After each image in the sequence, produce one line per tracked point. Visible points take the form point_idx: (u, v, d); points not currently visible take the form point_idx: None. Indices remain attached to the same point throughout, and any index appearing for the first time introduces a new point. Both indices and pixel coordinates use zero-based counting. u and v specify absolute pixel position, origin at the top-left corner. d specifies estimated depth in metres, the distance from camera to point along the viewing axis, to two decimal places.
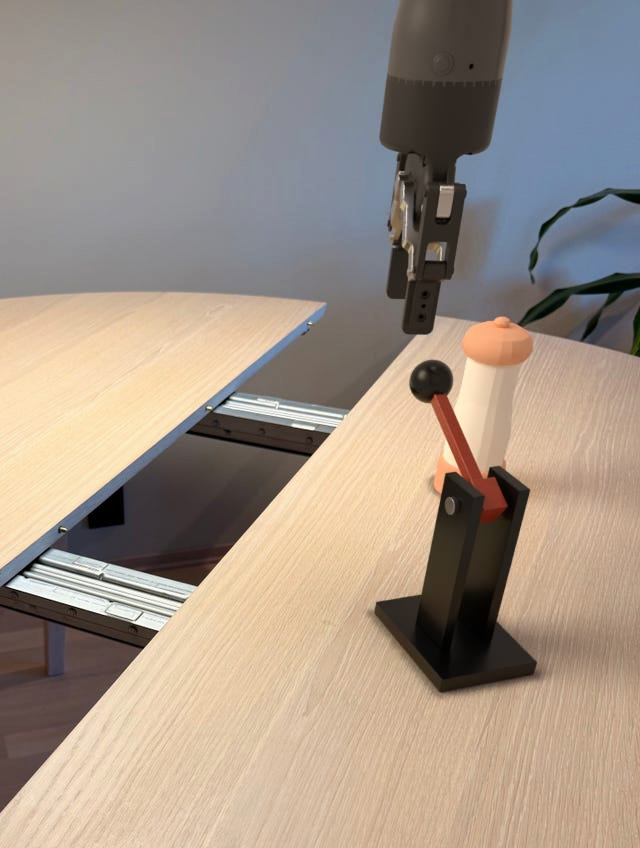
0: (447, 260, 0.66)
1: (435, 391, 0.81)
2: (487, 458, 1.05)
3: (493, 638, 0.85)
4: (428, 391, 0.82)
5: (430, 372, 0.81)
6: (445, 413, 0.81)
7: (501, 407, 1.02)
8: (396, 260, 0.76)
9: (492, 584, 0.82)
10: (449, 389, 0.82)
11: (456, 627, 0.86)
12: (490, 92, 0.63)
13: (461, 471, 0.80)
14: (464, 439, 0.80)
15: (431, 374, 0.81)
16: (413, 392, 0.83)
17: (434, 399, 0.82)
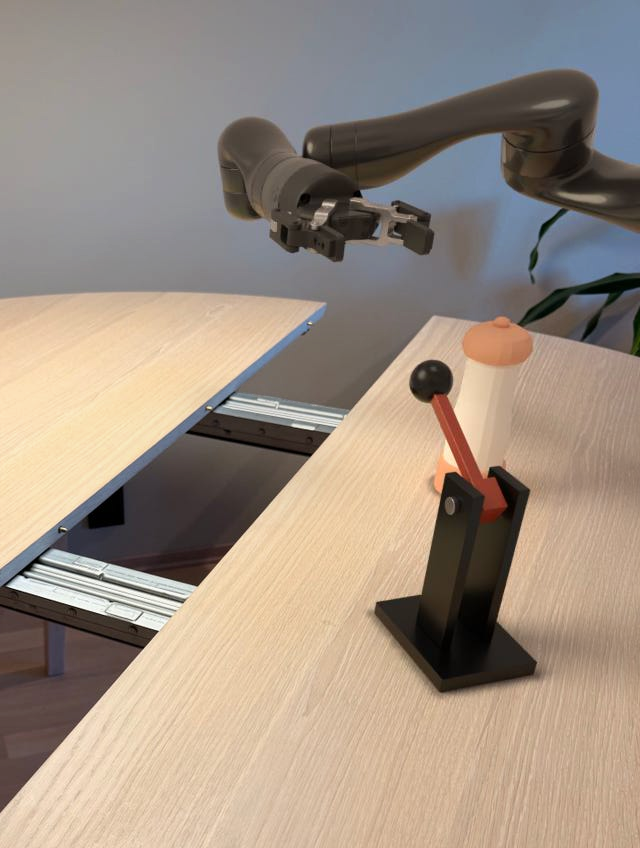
0: None
1: (435, 391, 0.81)
2: (487, 458, 1.05)
3: (493, 638, 0.85)
4: (428, 391, 0.82)
5: (430, 372, 0.81)
6: (445, 413, 0.81)
7: (501, 407, 1.02)
8: None
9: (492, 584, 0.82)
10: (449, 389, 0.82)
11: (456, 627, 0.86)
12: None
13: (461, 471, 0.80)
14: (464, 439, 0.80)
15: (431, 374, 0.81)
16: (413, 392, 0.83)
17: (434, 399, 0.82)
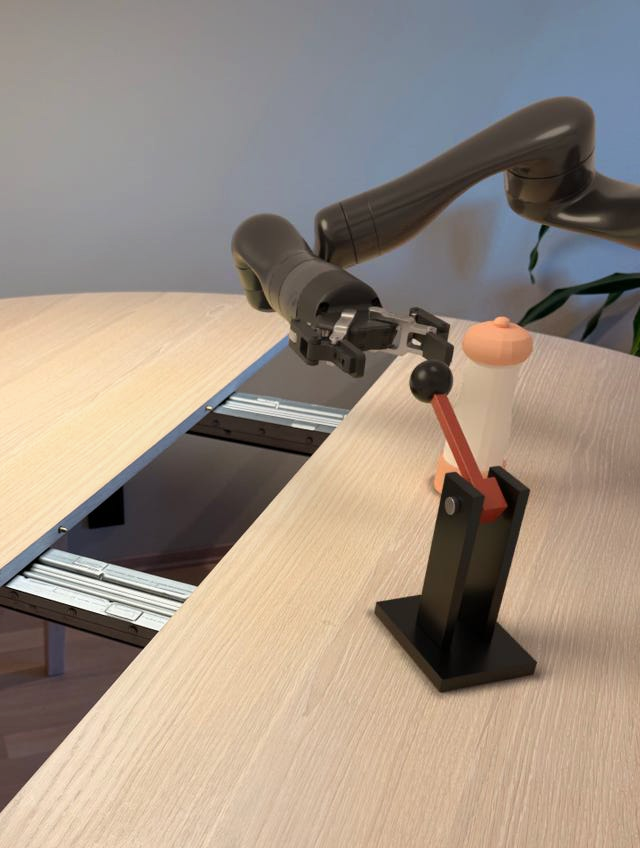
0: None
1: (435, 391, 0.81)
2: (487, 458, 1.05)
3: (493, 638, 0.85)
4: (428, 391, 0.82)
5: (430, 372, 0.81)
6: (445, 413, 0.81)
7: (501, 407, 1.02)
8: None
9: (492, 584, 0.82)
10: (449, 389, 0.82)
11: (456, 627, 0.86)
12: None
13: (461, 471, 0.80)
14: (464, 439, 0.80)
15: (431, 374, 0.81)
16: (413, 392, 0.83)
17: (434, 399, 0.82)
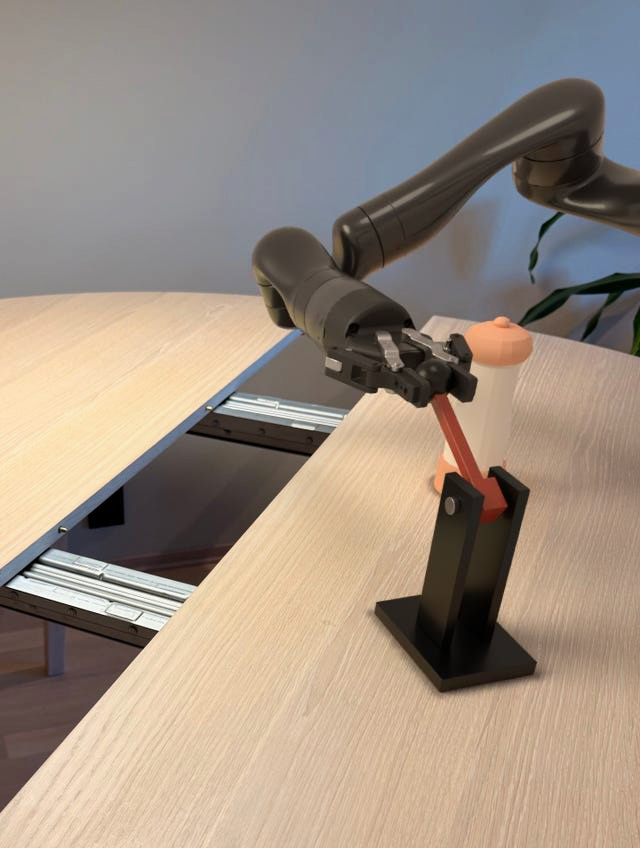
0: None
1: (435, 391, 0.81)
2: (487, 458, 1.05)
3: (493, 638, 0.85)
4: None
5: (430, 372, 0.81)
6: (445, 413, 0.81)
7: (501, 407, 1.02)
8: None
9: (492, 584, 0.82)
10: (449, 389, 0.82)
11: (456, 627, 0.86)
12: None
13: (461, 471, 0.80)
14: (464, 439, 0.80)
15: (431, 374, 0.81)
16: None
17: (434, 399, 0.82)
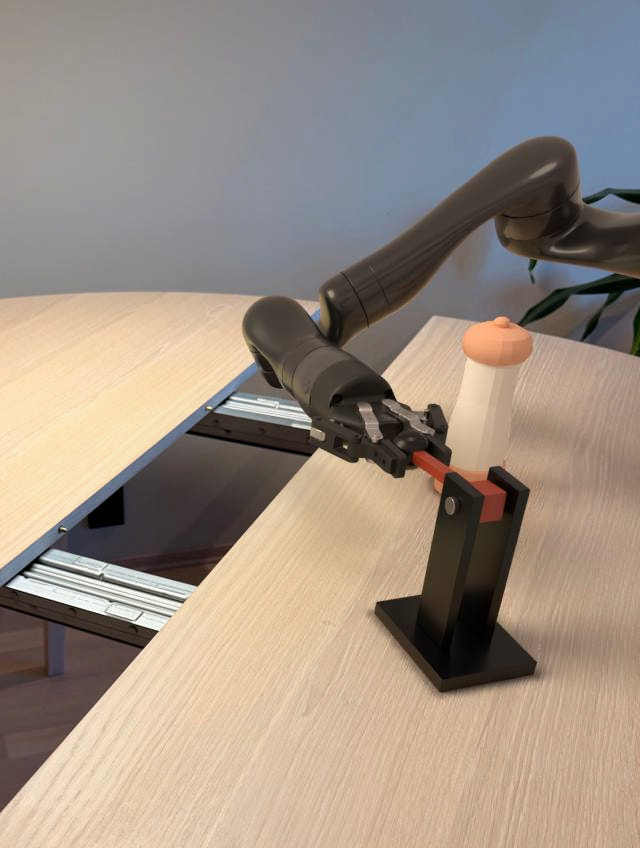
0: None
1: (413, 449, 0.86)
2: (487, 458, 1.05)
3: (493, 638, 0.85)
4: (407, 450, 0.87)
5: (404, 435, 0.87)
6: (427, 459, 0.85)
7: (501, 407, 1.02)
8: None
9: (492, 584, 0.82)
10: (426, 448, 0.87)
11: (456, 627, 0.86)
12: None
13: None
14: (450, 469, 0.83)
15: (404, 436, 0.87)
16: None
17: (414, 456, 0.86)
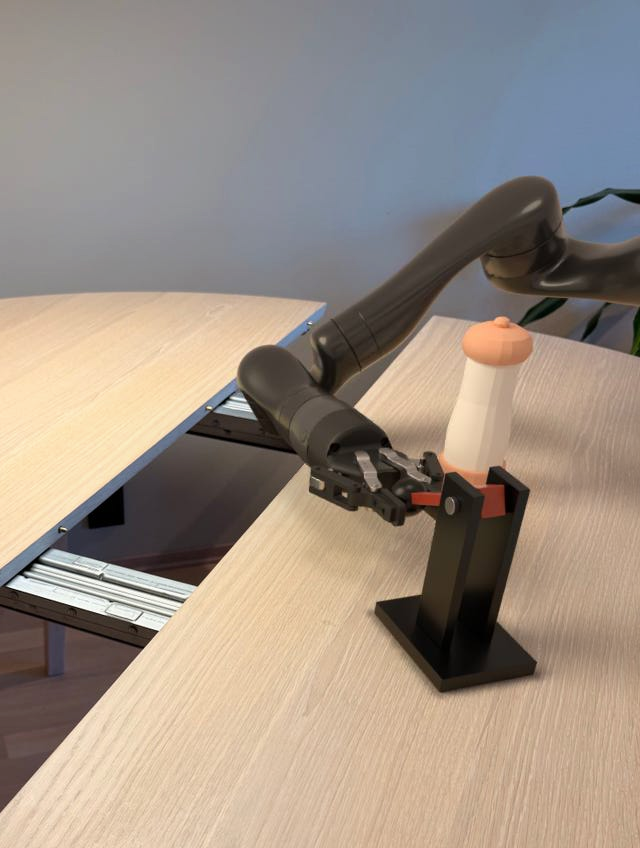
0: None
1: (410, 490, 0.88)
2: (487, 458, 1.05)
3: (493, 638, 0.85)
4: (404, 493, 0.88)
5: (399, 481, 0.89)
6: (425, 493, 0.86)
7: (501, 407, 1.02)
8: None
9: (492, 584, 0.82)
10: (424, 489, 0.88)
11: (456, 627, 0.86)
12: None
13: None
14: None
15: (400, 481, 0.89)
16: None
17: (412, 496, 0.88)
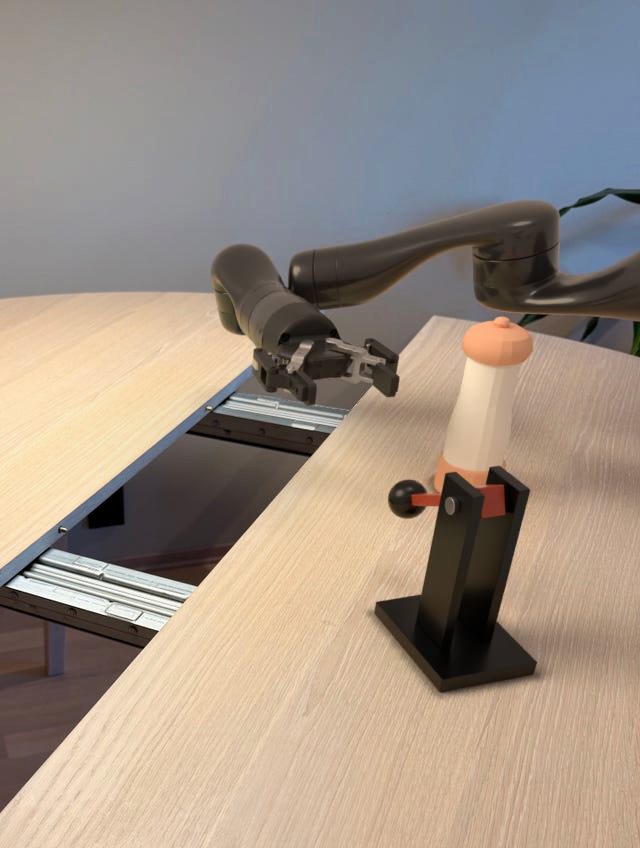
0: None
1: (410, 492, 0.88)
2: (487, 458, 1.05)
3: (493, 638, 0.85)
4: (404, 494, 0.88)
5: (399, 483, 0.89)
6: (425, 494, 0.86)
7: (501, 407, 1.02)
8: None
9: (492, 584, 0.82)
10: (424, 491, 0.89)
11: (456, 627, 0.86)
12: None
13: None
14: None
15: (400, 483, 0.89)
16: (395, 507, 0.89)
17: (412, 498, 0.88)
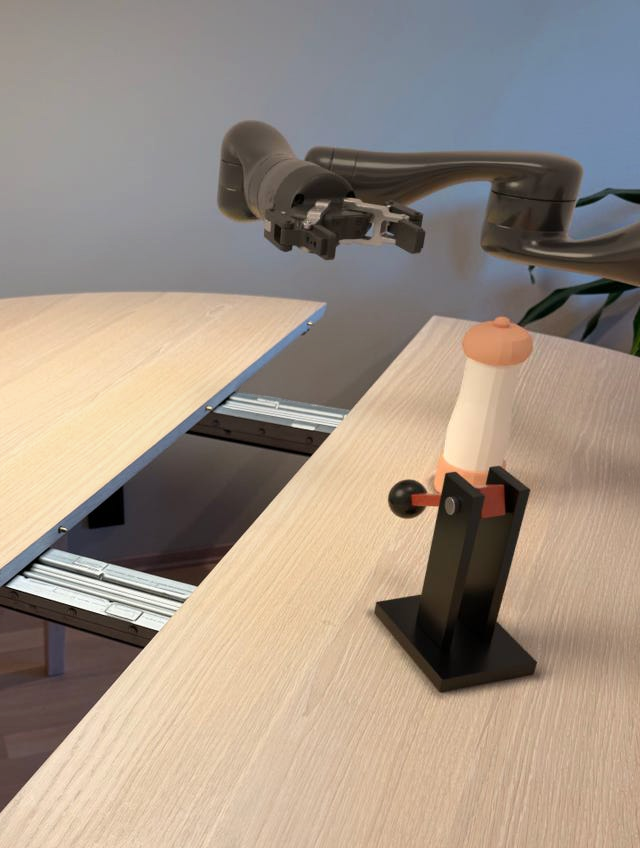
0: None
1: (410, 492, 0.88)
2: (487, 458, 1.05)
3: (493, 638, 0.85)
4: (404, 494, 0.88)
5: (399, 483, 0.89)
6: (425, 494, 0.86)
7: (501, 407, 1.02)
8: None
9: (492, 584, 0.82)
10: (424, 491, 0.89)
11: (456, 627, 0.86)
12: None
13: None
14: None
15: (400, 483, 0.89)
16: (395, 507, 0.89)
17: (412, 498, 0.88)
